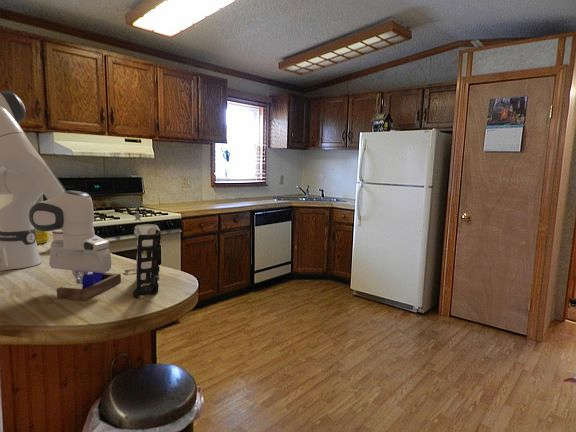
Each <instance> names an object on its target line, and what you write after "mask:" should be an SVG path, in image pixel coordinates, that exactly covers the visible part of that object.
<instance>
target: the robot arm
mask: <svg viewBox="0 0 576 432" xmlns="http://www.w3.org/2000/svg"><path fill="white" fill-rule="evenodd" d="M26 116H27V113H26V107H25V104H24V102H23V101H22V99H21V98H20V97H18V95H17V94H16V93H14V92H12V91H8V90H7V91H5V90H4V91H0V195H12V200H11V201H10V203H8V204H5V205H4V206H2V207H1V208H0V272H3V271H8V270H17V269H24V268H29V267H34V266H37V265H40V264H42V257H41V256H40V252H39V248H38V244H37V242H36V240H35V239H36V230H35V229H37V230H39V231H46V232H52V231H54V230H58V229H60V230H62V231H63V240H55V241H53V240H52V242H51V243H50V251H49V261H48V262H49V267H50V269H56V270H57V269H58V270H67V271H71V274H72V275H73V277H74V279H75V283H76V284H78V285H83V275H85V274H89V273H93V272H96V273H108V272H109V271H110V270H111V268H112V256H111V252H110V249H109V248H108V247H110V241H109V240H107V239H104V238H102V237H100V236H98V235H96V234H95V229H94V228H95V227H94V220H95V213H94V212H95V211H94V205H93V204H94V203H93V200H92V196H91V195H90V194H89V193H87V192H84V191H81V190H80V191H79V190H66V188H65V186H64V185H63V183H61V181H60V179H58V177H57V175H56V174H55V172H54V171H53V170H52V168H51V167H50V166H49V165H48V163H47V162H46V161H45V160H44V158H43V157H42V156H41V155H40V154H39V153H38V152H37V150H36V149H35V147H34V146H33V144H32V142H30V139H28V137H27V135H26V133H25V131H24V130H23V129H22V127H21V126H20V124H19V123H22V122H23V121H25V119H26ZM43 195H44V197H45V198H46V200H42V201H39V202H37V201H38V200H39V198H40V197H42V196H43ZM54 242H55V243H54Z"/></svg>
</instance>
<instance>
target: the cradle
mask: <svg viewBox="0 0 576 432" xmlns="http://www.w3.org/2000/svg"><path fill="white" fill-rule="evenodd" d="M121 283H122V276H121V273H112V272H111V273H110V272H105V273H104V276H103V280H102V281H100V282H98V283H96V284H94V285H91V286H89V287H87V288H85V289H82V288H75V287H73V288H72V287H61V286H60V287H57V288H56V299H60V300H71V301H72V300H74V301H82V302H83V301H84V302H85V301H87V300H89V299H92V298H93V297H95V296H97V295H99V294H101V293H103V292H105V291H107V290H109V289H111V288H112V287H115V286H116V285H119V284H121Z"/></svg>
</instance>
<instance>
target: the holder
mask: <svg viewBox="0 0 576 432" xmlns="http://www.w3.org/2000/svg"><path fill="white" fill-rule="evenodd" d="M161 236H162V232H161V230H160V231H159V230H157V229H156V233H155V234H152V235H139V236H138V237H137V239H138V251H137V250H136V251H137V253H136V255H137V268H136V273H137V281H136V288H134V289H133V290H132V296H133V297H134V298H136V299H137V298H139V297H142V296H147V295H157V293H159V287H160V286H159V285H160V284H159V283H158V281H159V280H158V277H157V276H158V272H160V265H159V263H160V259H161V239H162V237H161ZM152 239H153V245H152V246H150V247H142V241H143V240H152ZM143 251H147V257H146V258H142V252H143ZM151 252H152V257H151ZM150 261H152V267H151V268H147V269H142V268H141V263H142V262H150ZM142 273H146V279H145V280H141V274H142ZM150 275H151V278H150ZM146 284H147V285H146Z"/></svg>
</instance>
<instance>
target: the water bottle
mask: <svg viewBox="0 0 576 432" xmlns="http://www.w3.org/2000/svg"><path fill="white" fill-rule="evenodd" d="M133 216H134V217H135V218H134V221H139V222H141V221H142V220H141V218H142V217H143V215H142V214H140V213H139V211H136V213H135V214H133ZM156 229H157V230H159V231H160V232H161V229H160V228H159V225H157V224H152V223H151V224H150V223H148V224H147V223H146V224H145V223H144V224H138V225H136V226H134V231H133V234H134V235H135V237H136V238H137V240H136V242H135V245H136V251H138V236H139V235H152V234H155V233H156ZM152 245H153V239H152V240H143V241H142V247H150V246H152ZM135 257H136V261H135V263H136V269H137V254H136V256H135ZM146 257H147V251H143V252H142V258H146ZM151 257H152V252H151ZM151 267H152V261H150V262H142V263H141V268H142V269H147V268H151ZM159 272H160V271H159ZM159 272H158V276H157V277H158V281H159V280H160V273H159ZM135 276H136V277H135V278H136V280H135V281H136V282H137V272H136V275H135ZM150 278H151V275H150ZM145 279H146V273H142V274H141V280H145Z"/></svg>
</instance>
